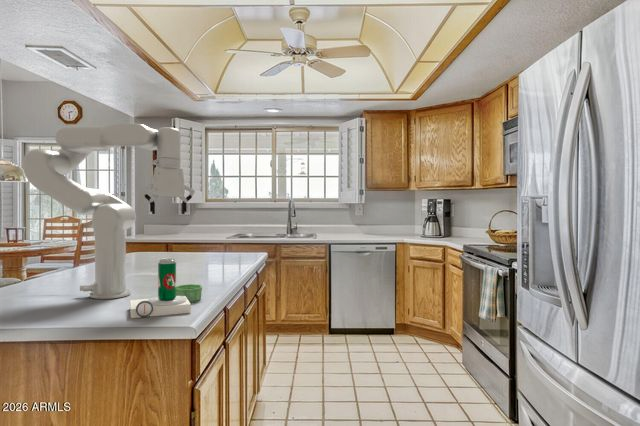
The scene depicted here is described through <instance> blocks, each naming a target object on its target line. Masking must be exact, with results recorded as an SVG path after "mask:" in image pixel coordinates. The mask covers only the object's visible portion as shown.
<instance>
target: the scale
mask: <svg viewBox="0 0 640 426" xmlns="http://www.w3.org/2000/svg"><path fill="white" fill-rule="evenodd" d="M191 305H192V304H191V302H189V301H188V299H187V298H186V296H176V298H175V299H174V300H170V301H161V300H159V299H158V296H155V297H151V298H140V299H130V300H129V309H130V310H129V311H130V319H138V318H147V317H149V316H150V317H157V316H158V317H159V316H170V315H178V314H180V315H181V314H189V313H190V314H191V312H192V311H191V310H192V309H191V308H192V307H191Z"/></svg>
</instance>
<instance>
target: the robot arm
mask: <svg viewBox="0 0 640 426" xmlns="http://www.w3.org/2000/svg"><path fill="white" fill-rule="evenodd" d="M54 135H55V137H54V140H55V143H56V144H57V146H59V147H60V149H59V150H58V151H56V150H51V149H45V148H35V149H32V150H29V151H28V152H26V153H25V154H24V157H23V159H22V171H23V173H24V175H25V177H26V180H27V181H28V182H29V183H30V184H31V185H32V186H33V187H35V188H36V189H37V190H39V191H40V192H42V194H45V195H46V196H47V197H50V198H51V199H53V200H54V201H56V202H58V203H59V204H61V205H62V206H64V207H67V208H68V209H70V210H71V211H72V212H74V213H76V214H78V215H80V216H81V215H83V216H92V218H91V220H92V223H91V224H92V228H93V235H94V282H93V283H91V284H89V285H87V284H83V285H79V291H80V292H84V293H85V292H90V293H89V297H90V298H91V299H97V300H98V299H99V300H108V299H117V298H118V299H119V298H124V297H127V296H129V295H131V290H130V288H129V289H128V288H127V285H126V284H127V283H126V282H127V277H126V276H127V274H126V273H127V270H126V269H127V260H126V259H127V257H126V256H127V244H126V243H127V241H126V235H125V231H124V230H128V229H130V228H131V227H133V226H134V225H135V223H136V220H137V214H136V211H135V209H134V208H133V207H132V206H131V205H130V204H128V203H126V202H124V201H123V200H121V199H119V198H118V197H116V196H115V195H112V194H111V193H109V192H107V191H105V190H104V189H101V188H94V187H93V188H92V187H87V186H84V185H81V184H79V183H78V182H76V181H74V180H73V179H72V178H69V177H68V176H65V175H67V174H69V173H71V172H72V171H74V170H75V169H76V168H77V167H78V166H79V165H80V164H81V163H83V161H85V160H86V159H87V157H88V156H90V155H91V154H92V152H107V151H110V149H111V148H115V147H118V148H119V147H135V148H140V149H143V150H146V151H156V159H153V160H152V165H156V167H154V170H153V176H152V177H153V179H152V184H150V185H147V186H146V187H143V188H141V189H140V191H141V193H142V195H143V197H144V198H145V199H146V200H147V201H148V202H149V212H150V213H151V214H152V215H155V214H156V202H155V201H156V199H157V198H179V199H180V200H181V201H182V202H181V208H180V209H181V210H180V211H181V214H182V215H185V213H187V203H188V202H189V201H190V200H191V199H193V196H194V194H195V189H193V188H191V187H189V186H187V185H185V174H184V169H183V168H182V167H181V131H180V130H179V129H178V128H176V127H175V128H174V127H167V126H166V127H160V128H158V129H154V128H151V127H149V126H147V125H145V124H141V123H111V124H106V125H69V126H68V125H67V126H63V127H60V128H59V129H58V130H57V131H56V132H55V134H54ZM151 189H152V196H150V195H149V194H148V191H149V190H151ZM185 191H187V192H188V193H189V194H188V195H187V196H185Z"/></svg>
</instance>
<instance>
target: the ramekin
mask: <svg viewBox="0 0 640 426" xmlns="http://www.w3.org/2000/svg"><path fill="white" fill-rule="evenodd" d="M202 289H203V285H201V284H197V283H196V284H195V283H193V284H191V283H190V284H189V283H188V284H180V285H176V296H186V298H187V299H188V301H189V302H190V303H192V302H193V303H194V302H198V301H200V300H201V299H202V291H203V290H202Z"/></svg>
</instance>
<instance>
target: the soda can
mask: <svg viewBox="0 0 640 426" xmlns="http://www.w3.org/2000/svg"><path fill="white" fill-rule="evenodd" d="M157 268H158V269H157V270H158V271H157V297H158V299H159V300H161V301H170V300H174V299H175V298H176V286H177V262H176V260H175V258H161V259H159V261H158V265H157Z"/></svg>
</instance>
